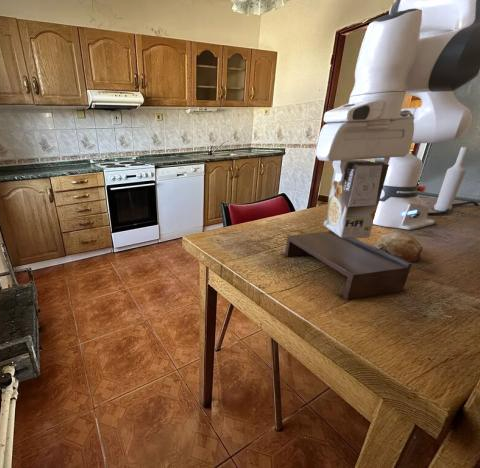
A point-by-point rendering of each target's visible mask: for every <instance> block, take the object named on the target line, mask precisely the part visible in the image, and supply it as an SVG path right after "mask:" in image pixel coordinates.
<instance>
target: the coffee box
mask: <svg viewBox="0 0 480 468" xmlns="http://www.w3.org/2000/svg"><path fill="white" fill-rule="evenodd" d="M343 167H344V171H345V173H348V175H347V180H346V181H343V182H338V181H335V174H336V173H335V170H334V169H333V175H332V179H331V184H330V190H329V194H328V196H329V197H328V200H327V205H326V211H325V216H324V220H323V226H324V227H326V228H327V229H328V230H331V231H333V232H334V233H335V234H337V235H338V236H340V237H342V238H355V239H370V237H371V236H370V235H371V231H372V228H373V226H374V224H373V222H374V218H375V214H376V211H377V207H378V203H379V200H380V196H381V193H382V189H383V185H384V182H385V178H386V174H387V170H388V167H389V165H388V164H383V163H377V162H375V161H370V160H366V159H357V160H347V162H346V165H345V166H343Z"/></svg>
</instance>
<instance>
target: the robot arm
mask: <svg viewBox="0 0 480 468" xmlns="http://www.w3.org/2000/svg"><path fill="white" fill-rule="evenodd" d="M479 73H480V0H393V1H392V3H391V5H390V8H389V11H388V14H385V15H382V16H378V17H377V18H376V19H374V20H373V21H371V22H370V23H369V24H368V26H367V28H366V31H365V34H364V36H363V39H362V42H361V46H360V48H359V52H358V56H357V60H356V65H355V69H354V86H353V87H352V91H351V92H350V95H349V100H348V103H345V104H342V105H340V106H338V107H336V108H333V109H329V110H327V111H326V112H325V113H324V115H323V122H324V123H325V124H324V125H323V126H322V127H321V129H320V132H319V135H318V139H317V144H316V150H315V155H316V158H317V160H318V161H324V162H332V169H333V171H334V170H335V173H336V174H335V181H338V182H343V181H346V180H347V175H348V173H345V171H344V167H343V166H345V165H346V162H347V160H371V159H374V162H377V163H383V164H388V165H389V167H388V170H387V174H386V178H385V182H384V185H383V189H382V193H381V196H380V200H379V203H378V207H377V211H376V214H375V218H374V222H373V225H376V226H380V227H385V228H394V229H403V230H407V231H411V230H417V229H419V228H420V229H421V228H423V227H427V226H431V225H434V224H435V222H436V221H435V220H434V219H432V218H429V217H428V216H437V215H446V214H448V213H449V212H450V211H451V210H450V209H446V211H438V212H437V211H436V212H435V211H434V212H429V210H430V209H429V205H427V204H426V203H425V202H424V201H423V200H422V199H421V197H419V192H420V193H424V192H425V191H426V186H425V185H418V183H419V179H420V176H421V172H422V170H423V167H424V164H423V161H422V159H421V158H419V157H418V156H416V155H414V154H412V153H410V151H411V149H412V144H441V143H446V142H452V141H455V140H456V141H457V139H459V138H460V137H462V136H463V135H465V133H467V131H468V130H469V129H470V127H471V125H472V122H473V114H472V112H471V109H469V108H468V107H467V106H465V105H464V104H463V103H461V102H460V101H459V100H458V98H457V97H456V95H455V94H454V91H456V90H458V89H461V87H464V86H465V85H467V84H468V83H470V82H471V81H472V80H475V78H476V77H478V75H479ZM406 95H410V96H412V97H416V98H418V99H420V100H421V105H420V106H417V107H406V108H404V107H403V105H404V101H405V98H406ZM465 205H474V206H477V207H478V206H480V205H479V203H478V202H477V201H475V200H474V201H471V200H470V201H464V202H459V203H453V204H452V207H459V206H465ZM449 210H450V211H449Z"/></svg>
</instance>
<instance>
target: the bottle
mask: <svg viewBox="0 0 480 468" xmlns="http://www.w3.org/2000/svg"><path fill="white" fill-rule="evenodd" d="M469 149H470V147H469V146H461V147H460V150H459V152H458V155H457V158H456V161H455V163H454V164H453V166H451V167H449V168H447V169H446V172H445V176H444V179H443V181H442V185H441V188H440V190H439V194H438V197H437V199H436V200H437V201H436V202H435V204H434V205H433V209H434V210H435V211H438V212H444V211H446V209H450V210H449V212H450V211H451V210H452V209H453V206H452V204H454V201H455V199H456V196H457V194H458V192H459V189H460V186H461V184H462V181H463V179H464V177H465V175H466V173H467V169H466V168H465V167H464V161H465V159H466V156H467V153H468V152H469Z"/></svg>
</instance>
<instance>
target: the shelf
mask: <svg viewBox="0 0 480 468" xmlns="http://www.w3.org/2000/svg"><path fill="white" fill-rule="evenodd" d="M328 230H329V231H319V232H312V233H302V234H294V235H292V234H291V235H287V236H286V237H287V238H286V244H285V252H284V256H286V257H289V258H290V257H297V256H303V255H311V256H312V257H314V258H316V259H317V260H319V261H321V263H324V264H326V265H327V266H329V267H331V268H332V269H334V270H335V271H337V272H338V273H340V274H342V275H343V276H345V277H347V278H346V281H345V286H344V290H343V293H342V298H343V299H346V300H354V299H361V298H365V297H373V296H380V295H387V294H392V293H397V292H398V293H399V292H403V291H404V289H405V286H406V282H407V279H408V277H409V274H410V271H411V269H412V265H413V263H412V262H407V261H405V260H403V259H401V258H398V257H396V256H394V255H391V254H389V253H387V252H385V251H382V250H380V249H378V248H375V246H373V245H370V244H368V243H367V242H365V241H361V240H360V239H358V238H342V237H340V236H338V235H337V234H335V233H334V232H333V231H331V230H330V229H328Z"/></svg>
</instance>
